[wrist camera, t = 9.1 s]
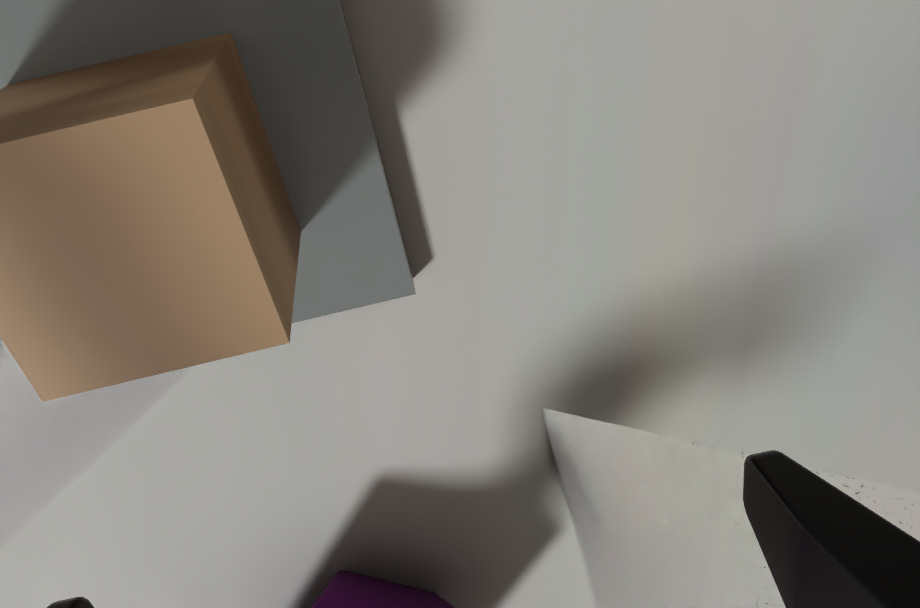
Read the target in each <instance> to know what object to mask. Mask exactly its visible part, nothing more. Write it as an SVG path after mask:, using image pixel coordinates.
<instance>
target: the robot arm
mask: <svg viewBox="0 0 920 608" xmlns="http://www.w3.org/2000/svg"><path fill="white" fill-rule="evenodd" d="M743 502H744V507H745V510H746V514H747V516H748V519H749V521H750V523H751V526H752V528H753V531H754V533H755V535H756V538H757V540H758V542H759V545H760V547H761V549H762V552H763V554H764V557H765V559H766V561H767V564H768V566H769V568H770V571H771V573H772V576H773V578H774V580H775V583H776V585H777V587H778V590H779V592H780V595H781V597H782V599H783V602H784V604H785V606H786V608H920V542H919V541H918V540H916V539H915V538H913V537H912V536H910V535H909V534H907V533H906V532H904V531H902V530H901V529H899V528H898V527H896V526H895V525H893V524H892V523H890V522H888V521H887V520H885V519H884V518H882V517H881V516H879V515H878V514H876V513H874V512H873V511H871V510H870V509H868V508H867V507H865V506H864V505H862V504H861V503H859V502H857V501H856V500H854V499H853V498H851V497H850V496H848V495H847V494H845V493H843V492H842V491H840V490H839V489H837V488H836V487H834V486H833V485H831V484H829V483H828V482H826V481H825V480H823V479H822V478H820V477H819V476H817V475H816V474H814V473H812V472H811V471H809V470H808V469H806V468H805V467H803V466H802V465H800V464H798V463H797V462H795V461H794V460H792V459H791V458H789V457H788V456H786V455H784V454H783V453H781V452H779V451H775V450H772V451H766V452H762V453H757V454H752V455H749V456H748V457H747V458H746V460H745V463H744V485H743ZM47 608H94V607H93V605H92V604H91V603H90V601H89V600H88V599H86V598H84V597H76V598H71V599H66V600H61V601H57V602H54V603H52V604H51V605H49V606H48V607H47Z"/></svg>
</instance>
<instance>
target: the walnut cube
mask: <svg viewBox="0 0 920 608" xmlns="http://www.w3.org/2000/svg"><path fill="white" fill-rule="evenodd" d="M300 237H301V230H300V227H299V224H298V222H297V219H296V216H295V213H294V210H293V207H292V204H291V202H290V199H289V196H288V193H287V190H286V187H285V184H284V182H283V179H282V176H281V173H280V170H279V167H278V164H277V162H276V159H275V156H274V153H273V150H272V147H271V145H270V142H269V139H268V136H267V133H266V130H265V127H264V125H263V122H262V119H261V116H260V113H259V110H258V107H257V105H256V102H255V99H254V96H253V93H252V90H251V87H250V85H249V82H248V79H247V76H246V73H245V70H244V67H243V65H242V62H241V59H240V56H239V53H238V50H237V47H236V45H235V42H234V39H233V36H232V33H231V32H230V33H226V34H221V35H217V36H213V37H209V38H204V39H200V40H196V41H192V42H187V43H183V44H179V45H175V46H170V47H166V48H162V49H158V50H153V51H149V52H145V53H141V54H136V55H132V56H128V57H124V58H119V59H115V60H111V61H106V62H102V63H98V64H94V65H89V66H85V67H81V68H77V69H72V70H68V71H64V72H60V73H55V74H51V75H47V76H43V77H38V78H34V79H30V80H26V81H21V82H17V83H13V84H9V85H6V86H5V87H4V88H2V89H1V90H0V337H1V339H2V340H3V342H4V343H5V345H6V346H7V348H8V349H9V351H10V352H11V354H12V355H13V357H14V358H15V360H16V362H17V363H18V365H19V366H20V368H21V369H22V371H23V372H24V374H25V375H26V377H27V378H28V380H29V381H30V383H31V384H32V386H33V387H34V389H35V390H36V392H37V393H38V395H39V397H40V398H41V400H42V401H43V402H44V401H48V400H52V399H56V398H60V397H65V396H69V395H73V394H77V393H81V392H86V391H90V390H94V389H98V388H102V387H106V386H111V385H115V384H119V383H123V382H127V381H131V380H136V379H140V378H144V377H148V376H152V375H157V374H161V373H165V372H169V371H173V370H177V369H182V368H186V367H190V366H194V365H198V364H203V363H207V362H211V361H215V360H219V359H223V358H228V357H232V356H236V355H240V354H244V353H248V352H253V351H257V350H261V349H265V348H269V347H274V346H278V345H282V344H286V343H289V342H290V332H291V323H292V313H293V304H294V294H295V285H296V275H297V266H298V256H299V247H300Z"/></svg>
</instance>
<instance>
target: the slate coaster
mask: <svg viewBox="0 0 920 608" xmlns="http://www.w3.org/2000/svg"><path fill="white" fill-rule="evenodd" d="M230 32H231V33H232V36H233V39H234V42H235V45H236V47H237V50H238V53H239V56H240V59H241V62H242V65H243V67H244V70H245V73H246V76H247V79H248V82H249V85H250V87H251V90H252V93H253V96H254V99H255V102H256V105H257V107H258V110H259V113H260V116H261V119H262V122H263V125H264V127H265V130H266V133H267V136H268V139H269V142H270V145H271V147H272V150H273V153H274V156H275V159H276V162H277V164H278V167H279V170H280V173H281V176H282V179H283V182H284V184H285V187H286V190H287V193H288V196H289V199H290V202H291V204H292V207H293V210H294V213H295V216H296V219H297V222H298V224H299V227H300V230H301V237H300V247H299V256H298V266H297V275H296V285H295V294H294V304H293V313H292V323H294V322H298V321H302V320H307V319H311V318H315V317H319V316H324V315H328V314H332V313H336V312H341V311H345V310H349V309H353V308H358V307H362V306H366V305H370V304H375V303H379V302H383V301H387V300H392V299H396V298H400V297H405V296H409V295H413V294H416V293H415V287H414V281H413V277H412V273H411V269H410V265H409V261H408V257H407V254H406V250H405V246H404V242H403V238H402V235H401V231H400V227H399V223H398V219H397V216H396V212H395V208H394V204H393V200H392V197H391V193H390V189H389V185H388V181H387V177H386V174H385V170H384V166H383V162H382V158H381V155H380V151H379V147H378V143H377V139H376V136H375V132H374V128H373V124H372V120H371V116H370V113H369V109H368V105H367V101H366V97H365V94H364V90H363V86H362V82H361V78H360V75H359V71H358V67H357V63H356V59H355V55H354V52H353V48H352V44H351V40H350V36H349V33H348V29H347V25H346V21H345V17H344V14H343V10H342V6H341V2H340V0H0V90H1V89H2V88H4V87H5V86H6V85H9V84H13V83H17V82H21V81H26V80H30V79H34V78H38V77H43V76H47V75H51V74H55V73H60V72H64V71H68V70H72V69H77V68H81V67H85V66H89V65H94V64H98V63H102V62H106V61H111V60H115V59H119V58H124V57H128V56H132V55H136V54H141V53H145V52H149V51H153V50H158V49H162V48H166V47H170V46H175V45H179V44H183V43H187V42H192V41H196V40H200V39H204V38H209V37H213V36H217V35H221V34H226V33H230Z"/></svg>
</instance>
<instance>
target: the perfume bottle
mask: <svg viewBox="0 0 920 608" xmlns="http://www.w3.org/2000/svg"><path fill="white" fill-rule="evenodd" d="M311 608H454V607H453V606H452V605H450V604H449V603H448V602H446V601H445V600H444V599H442V598H441V597H440V596H439V595H437V594H436V593H433V592H428V591H424V590H420V589H416V588H412V587H408V586H404V585H400V584H396V583H392V582H388V581H384V580H380V579H376V578H371V577H367V576H363V575H359V574H355V573H351V572H347V571H340V572H338V573H337V574H335V576H334V577H333V579H332V580H331V581H330V583H329V584H328V585H327V587H326V588H325V589H324V591H323V592H322V593H321V595H320V596H319V597H318V599H317V600H316V601H315V603H314V604H313V606H312V607H311Z"/></svg>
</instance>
